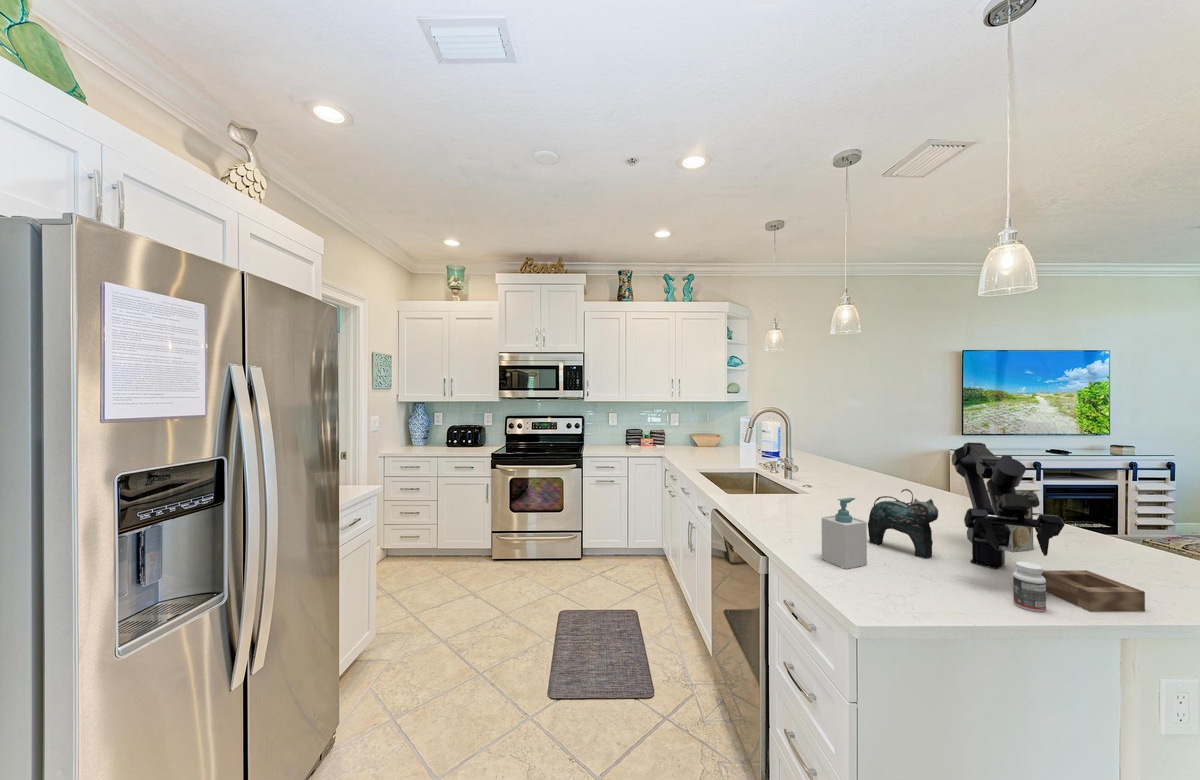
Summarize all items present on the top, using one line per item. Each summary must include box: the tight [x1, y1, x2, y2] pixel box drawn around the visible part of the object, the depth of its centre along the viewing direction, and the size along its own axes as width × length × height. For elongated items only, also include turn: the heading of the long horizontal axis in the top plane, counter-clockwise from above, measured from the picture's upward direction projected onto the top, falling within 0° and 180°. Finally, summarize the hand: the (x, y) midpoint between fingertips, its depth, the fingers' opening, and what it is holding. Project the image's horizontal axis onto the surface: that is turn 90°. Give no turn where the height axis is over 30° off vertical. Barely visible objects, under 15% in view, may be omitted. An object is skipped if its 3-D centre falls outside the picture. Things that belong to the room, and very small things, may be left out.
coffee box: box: [1002, 507, 1034, 553], centre depth 149 cm, size 9×6×16 cm
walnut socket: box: [1041, 569, 1146, 612], centre depth 113 cm, size 13×13×4 cm
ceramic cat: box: [867, 488, 939, 560], centre depth 148 cm, size 20×6×20 cm, turn 28°
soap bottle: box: [821, 497, 868, 570], centre depth 138 cm, size 9×9×19 cm
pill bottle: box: [1012, 561, 1047, 613], centre depth 109 cm, size 6×6×10 cm
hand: (1021, 552), depth 113 cm, fingers open, 9 cm apart
